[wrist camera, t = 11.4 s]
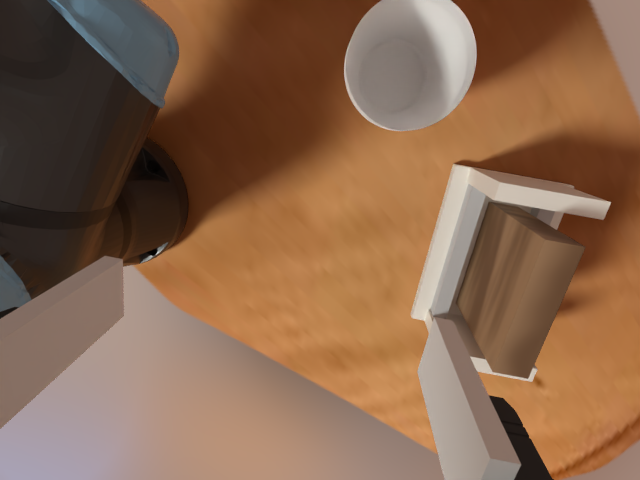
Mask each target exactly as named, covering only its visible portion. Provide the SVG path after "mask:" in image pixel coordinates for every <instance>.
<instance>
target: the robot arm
mask: <svg viewBox="0 0 640 480" xmlns="http://www.w3.org/2000/svg"><path fill="white" fill-rule="evenodd" d="M178 59H179V46H178V42H177V39H176V36H175V34H174V32H173V31H172V29H171V28H170V27H169V25H168V24H167V23H166V22H165V21H164V20H163V19H162V18H161V17H160V16H158V15H157V14H156V13H155V12H154V11H153V10H151V9H150V8H149V7H148V6H147V5H146V4H144V3H143V2H142V1H141V0H0V429H1V428H2V427H3V426H4V425H5V424H6V423H7V422H8V421H9V420H11V419H12V418H13V417H14V416H15V415H16V414H17V413H18V412H19V411H20V410H21V409H23V408H24V407H25V406H26V405H27V404H28V403H29V402H30V401H31V400H32V399H33V398H35V397H36V396H37V395H38V394H39V393H40V392H41V391H42V390H43V389H44V388H46V386H48V385H49V384H50V383H51V382H52V381H53V380H54V379H55V378H56V377H57V376H59V375H60V374H61V373H62V372H63V371H64V370H65V369H66V368H67V367H68V366H70V365H71V364H72V363H73V362H74V361H75V360H76V359H77V358H78V357H79V356H80V355H81V354H83V353H84V352H85V351H86V350H87V349H88V348H89V347H90V346H91V345H92V344H94V342H96V341H97V340H98V339H99V338H100V337H101V336H102V335H103V334H104V333H106V332H107V331H108V330H109V329H110V328H111V327H112V326H113V325H114V324H115V323H117V322H118V321H119V320H120V319H121V318H122V317H123V316H124V305H123V266H129V265H136V264H140V263H144V262H147V261H149V260H151V259H153V258H155V257H157V256H159V255H160V254H161V253H163V252H164V251H165V250H167V249H168V248H169V247H170V246H172V245H173V244H174V243H175V242H176V240H177V239H178V238H179V236H180V235H181V233H182V231H183V229H184V227H185V224H186V220H187V215H188V196H187V191H186V187H185V183H184V181H183V178H182V176H181V174H180V172H179V170H178V168H177V167H176V165H175V164H174V162H173V161H172V159H171V158H170V157H169V156H168V155H167V153H166V152H165V151H164V150H163V149H162V148H160V147H159V146H158V145H157V144H156V143H154V142H153V141H151V140H150V139H148V138H146V137H147V135H148V133H149V130H150V128H151V126H152V124H153V122H154V120H155V118H156V116H157V113H158V111H159V109H160V108H163V107H164V105H165V100H164V96H165V93H166V91H167V88H168V85H169V83H170V80H171V78H172V75H173V73H174V70H175V68H176V65H177V62H178ZM417 372H418V376H419V380H420V384H421V388H422V392H423V396H424V400H425V404H426V408H427V412H428V416H429V420H430V424H431V428H432V431H433V435H434V439H435V443H436V447H437V451H438V455H439V459H440V463H441V467H442V471H443V475H444V479H445V480H554V479H552V478H551V476H550V474H549V472H548V470H547V468H546V466H545V465H544V463H543V461H542V459H541V457H540V455H539V454H538V452H537V450H536V448H535V446H534V444H533V442H532V441H531V439H530V438H529V435H528V433H527V431H526V429H525V428H524V427H523V424H522V422H521V420H520V418H519V417H518V415H517V413H516V411H515V410H514V409H513V408H512V407H511V406H510V405H509V404H508V403H507V402H506V401H505V400H504V399H503V398H500V397H494V396H489V395H488V393H487V391H486V389H485V387H484V385H483V383H482V381H481V379H480V377H479V375H478V372H477V370H476V368H475V366H474V364H473V362H472V360H471V358H470V356H469V354H468V351H467V349H466V347H465V345H464V343H463V341H462V339H461V337H460V335H459V333H458V330H457V328H456V326H455V324H454V322H453V321H452V320H447V319H442V318H436V317H434V320H433V323H432V326H431V329H430V333H429V336H428V339H427V342H426V346H425V349H424V352H423V355H422V358H421V362H420V365H419V368H418V371H417Z"/></svg>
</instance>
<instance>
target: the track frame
mask: <svg viewBox="0 0 640 480" xmlns="http://www.w3.org/2000/svg"><path fill="white" fill-rule="evenodd" d="M489 202H495V203H500V204H506V205H511V206H517V207H519V208H521V209H523V210H524V211H526V212H528V213H529V214H531V215H533V216H534V217H536V218H538V219H539V220H541V221H543V222H544V223H546V224H548V225H549V226H551V227H553V228H554V229H556V230H557V229H558V226H559V224H560V221H561V219H562V216H563V214H564V213H568V214H573V215H579V216H584V217H590V218H595V219H601V220H604V218H605V216H606V213H607V211H608V209H609V206H610V204H611V202H609V201H606V200H604V199H601V198H598V197H595V196H593V195H590V194H587V193H584V192H582V191H579V190H576V189H574V186H573V185H570V184H565V183H559V182H554V181H548V180H542V179H537V178H531V177H526V176H520V175H515V174H509V173H503V172H498V171H492V170H487V169H481V168H475V167H470V166H464V165H459V164H453V167H452V170H451V174H450V177H449V181H448V184H447V188H446V191H445V195H444V198H443V202H442V205H441V209H440V212H439V216H438V219H437V223H436V226H435V230H434V233H433V237H432V240H431V244H430V247H429V251H428V254H427V258H426V261H425V265H424V268H423V272H422V275H421V279H420V282H419V286H418V289H417V293H416V296H415V300H414V303H413V307H412V311H411V317H412V318H414V319H419V320H424V321H425V323H426V326H427V329H428V332H429V333H430V329H431V326H432V323H433V320H434V317H436V318H442V319H447V320H452V321H453V322H454V324H455V326H456V328H457V330H458V333H459V335H460V337H461V339H462V341H463V343H464V345H465V347H466V349H467V351H468V354H469V356H470V358H471V360H472V362H473V364H474V366H475V368H476V370H477V371H478V372H483V373H488V374H493V375H499V376H504V377H509V378H515V379H520V380H525V381H530V382H532V381H533V378H534V376H535V374H536V372H537V368H536V366H535V365H534V366H533V369H532V371H531V373H530V376H529V378H528V379H527V378H521V377H516V376H511V375H506V374H500V373H495V372H492V370H491V368H490V366H489V364H488V362H487V361H486V359H485V357H484V355H483V353H482V351H481V349H480V347H479V346H478V344H477V342H476V340H475V338H474V336H473V334H472V332H471V331H470V329H469V327H468V325H467V323H466V321H465V319H464V317H463V316H462V314H461V312H460V310H459V308H458V306H457V304H456V300H457V297H458V294H459V291H460V288H461V285H462V282H463V279H464V276H465V273H466V270H467V267H468V264H469V260H470V257H471V254H472V251H473V248H474V245H475V242H476V239H477V236H478V233H479V230H480V227H481V224H482V221H483V218H484V215H485V212H486V209H487V206H488V203H489Z"/></svg>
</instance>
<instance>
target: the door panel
mask: <svg viewBox="0 0 640 480" xmlns="http://www.w3.org/2000/svg"><path fill="white" fill-rule="evenodd" d="M584 250H585V246H583V245H581V244H580V243H578V242H576V241H575V240H573V239H571V238H570V237H568V236H566V235H565V234H563V233H561V232H559V231H558V230H556V229H554V228H553V227H551V226H549V225H548V224H546V223H544V222H543V221H541V220H539V219H538V218H536V217H534V216H533V215H531V214H529V213H528V212H526V211H524V210H523V209H521V208H519V207H517V206H511V205H506V204H500V203H495V202H489V203H488V206H487V209H486V212H485V215H484V218H483V221H482V224H481V227H480V230H479V233H478V236H477V239H476V242H475V245H474V248H473V251H472V254H471V257H470V260H469V264H468V267H467V270H466V273H465V276H464V279H463V282H462V285H461V288H460V291H459V294H458V297H457V300H456V304H457V306H458V308H459V310H460V312H461V314H462V316H463V317H464V319H465V321H466V323H467V325H468V327H469V329H470V331H471V332H472V334H473V336H474V338H475V340H476V342H477V344H478V346H479V347H480V349H481V351H482V353H483V355H484V357H485V359H486V361H487V362H488V364H489V366H490V368H491V370H492V372H495V373H500V374H506V375H511V376H516V377H521V378H527V379H528V378H529V376H530V373H531V371H532V369H533V366H534V364H535V362H536V360H537V357H538V355H539V353H540V350H541V348H542V346H543V344H544V341H545V339H546V337H547V334H548V332H549V330H550V327H551V325H552V323H553V321H554V318H555V316H556V314H557V311H558V309H559V307H560V305H561V302H562V300H563V298H564V295H565V293H566V291H567V289H568V286H569V284H570V282H571V279H572V277H573V275H574V273H575V270H576V268H577V266H578V263H579V261H580V259H581V256H582V254H583V252H584Z"/></svg>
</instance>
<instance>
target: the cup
mask: <svg viewBox="0 0 640 480" xmlns="http://www.w3.org/2000/svg"><path fill="white" fill-rule="evenodd" d="M476 58H477V50H476V41H475V37H474V33H473V30H472V27H471V25H470V23H469V21H468V19H467V17H466V16H465V14H464V13H463V12H462V10H461V9H460V8H459V7H458V6H457V5H456V4H455V3H453V2H452V1H451V0H381V1H380V2H378V3H377V4H376V5H375V6H373V7H372V8H371V9H370V10H369V11H368V12H367V13H366V14H365V15H364V17H363V18H362V19H361V21H360V22H359V24H358V25H357V27H356V29H355V31H354V33H353V35H352V38H351V40H350V42H349V45H348V48H347V51H346V56H345V62H344V78H345V84H346V88H347V91H348V94H349V97H350V99H351V101H352V103H353V104H354V106H355V107H356V109H357V110H358V111H359V112H360V113H361V115H362V116H364V117H365V118H366V119H367V120H368V121H370V122H371V123H373V124H375V125H377V126H379V127H381V128H384V129H388V130H393V131H408V130H417V129H421V128H425V127H428V126H430V125H433V124H435V123H437V122H438V121H440V120H442V119H443V118H444V117H446V116H447V115H448V114H449V113H451V112H452V111H453V110H454V109H455V108H456V107H457V105H458V104H459V103H460V102H461V100H462V99H463V97H464V96H465V94H466V92H467V91H468V89H469V87H470V84H471V82H472V79H473V76H474V72H475V67H476Z"/></svg>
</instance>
